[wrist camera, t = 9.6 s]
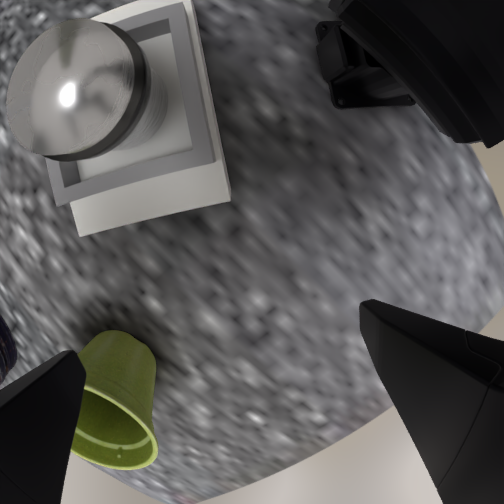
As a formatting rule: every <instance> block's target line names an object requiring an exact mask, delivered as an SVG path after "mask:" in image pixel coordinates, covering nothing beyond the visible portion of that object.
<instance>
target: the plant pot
mask: <svg viewBox="0 0 504 504" xmlns="http://www.w3.org/2000/svg"><path fill="white" fill-rule="evenodd" d="M77 355H78V357H79V359H80V361H81V362H82V364H83V366H84V368H85V370H86V382H85V387H84V392H83V398H82V404H81V410H80V415H79V419H78V423H77V426H76V430H75V434H74V439H73V443H72V447H71V452H73V453H74V454H76V455H77V456H80V457H81V458H83V459H85V460H88V461H90V462H92V463H95V464H98V465H101V466H105V467H108V468H113V469H120V470H134V469H139V468H143V467H145V466H148V465H150V464H151V463H152V462H153V461H154V460H155V459H156V457H157V454H158V441H157V438H156V436H155V434H154V427H153V423H152V408H153V395H154V386H155V377H156V361H155V358H154V356H153V354H152V352H151V350H150V349H149V348H148V347H147V346H146V345H145V344H144V343H141V342H140V341H138V340H136V339H135V338H134V337H133V336H131V335H130V334H129V333H126V332H123V331H118V330H108V331H104V332H101V333H99V334H98V335H96V336H95V337H94V338H93V339H92V340H91V341H90V342H89V343H88V344H87V345H86V346H85V347H84V348H83V349H82V350H81V351H80V352H79V353H78V354H77Z"/></svg>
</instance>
